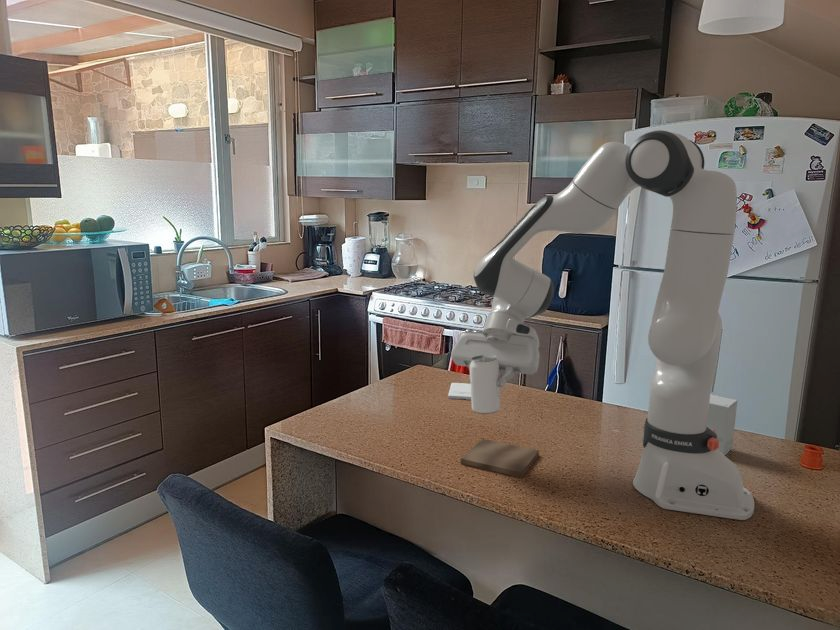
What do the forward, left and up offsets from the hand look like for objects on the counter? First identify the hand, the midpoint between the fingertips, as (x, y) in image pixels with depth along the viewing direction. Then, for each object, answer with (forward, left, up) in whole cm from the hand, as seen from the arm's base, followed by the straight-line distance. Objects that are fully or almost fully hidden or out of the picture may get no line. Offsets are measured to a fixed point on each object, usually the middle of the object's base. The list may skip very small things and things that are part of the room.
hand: (486, 384), depth 135 cm
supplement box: (-46, -31, -18) cm, 59 cm away
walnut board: (-4, -1, -17) cm, 18 cm away
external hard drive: (+23, -41, -18) cm, 50 cm away
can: (0, -1, -6) cm, 6 cm away
